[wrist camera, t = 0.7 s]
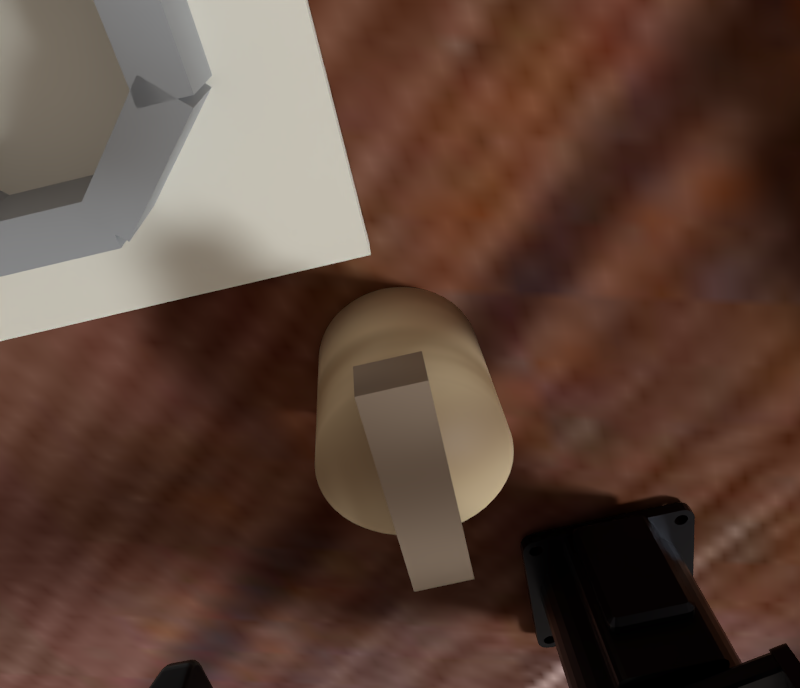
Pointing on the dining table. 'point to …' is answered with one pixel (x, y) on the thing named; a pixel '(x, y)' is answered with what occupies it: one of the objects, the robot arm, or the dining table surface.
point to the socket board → (220, 186)
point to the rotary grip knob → (410, 427)
